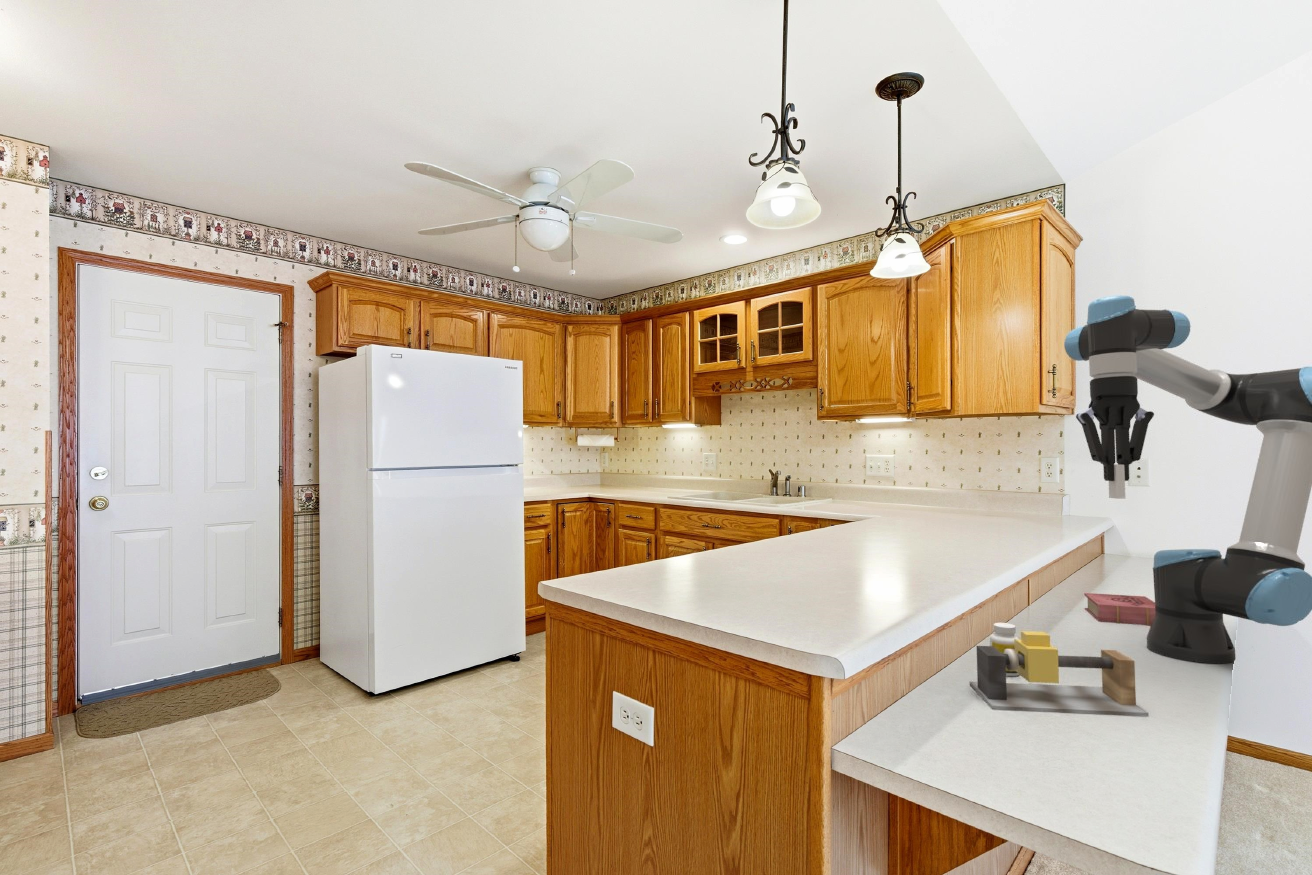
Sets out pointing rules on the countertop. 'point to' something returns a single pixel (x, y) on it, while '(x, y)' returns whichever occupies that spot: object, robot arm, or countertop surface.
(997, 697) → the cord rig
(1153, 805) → the countertop surface
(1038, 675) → the sleeve
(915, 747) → the countertop surface
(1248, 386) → the robot arm
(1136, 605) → the book
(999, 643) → the supplement bottle
